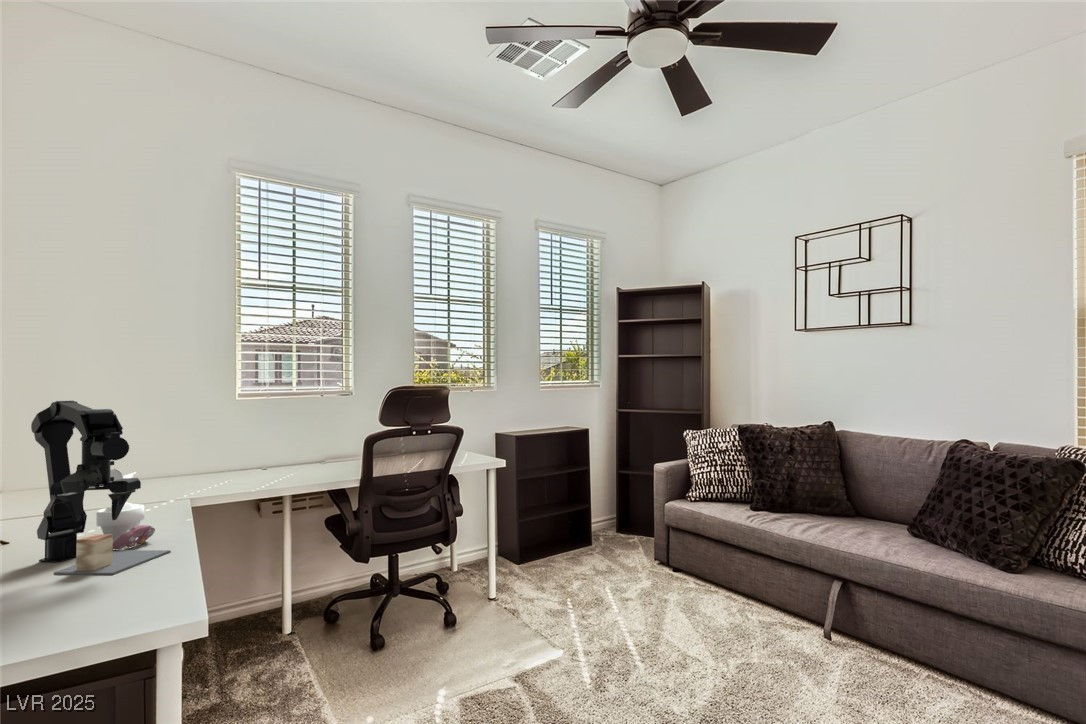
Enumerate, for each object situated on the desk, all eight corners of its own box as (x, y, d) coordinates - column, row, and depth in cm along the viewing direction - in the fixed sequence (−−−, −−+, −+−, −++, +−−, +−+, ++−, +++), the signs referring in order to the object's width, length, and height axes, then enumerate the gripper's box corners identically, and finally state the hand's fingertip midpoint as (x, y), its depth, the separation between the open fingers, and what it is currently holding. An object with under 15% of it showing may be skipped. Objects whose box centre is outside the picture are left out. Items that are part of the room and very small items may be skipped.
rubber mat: (53, 574, 135) (53, 572, 135) (117, 552, 152) (117, 550, 152) (113, 574, 133) (113, 572, 133) (170, 552, 151) (170, 550, 151)
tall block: (76, 570, 136) (76, 539, 136) (94, 563, 141) (94, 534, 141) (94, 570, 135) (95, 539, 136) (112, 563, 140) (112, 534, 141)
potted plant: (124, 546, 158) (125, 459, 159) (85, 547, 158) (85, 460, 159) (156, 534, 170) (156, 454, 172) (119, 535, 171) (120, 455, 172)
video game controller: (120, 556, 153) (130, 534, 153) (108, 549, 154) (117, 526, 154) (151, 546, 163) (160, 525, 163) (139, 539, 164) (148, 518, 164)
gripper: (30, 464, 131) (29, 530, 130) (110, 461, 132) (110, 527, 131) (68, 458, 142) (67, 519, 141) (142, 456, 143) (142, 516, 142)
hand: (95, 520), depth 139 cm, fingers open, 9 cm apart
